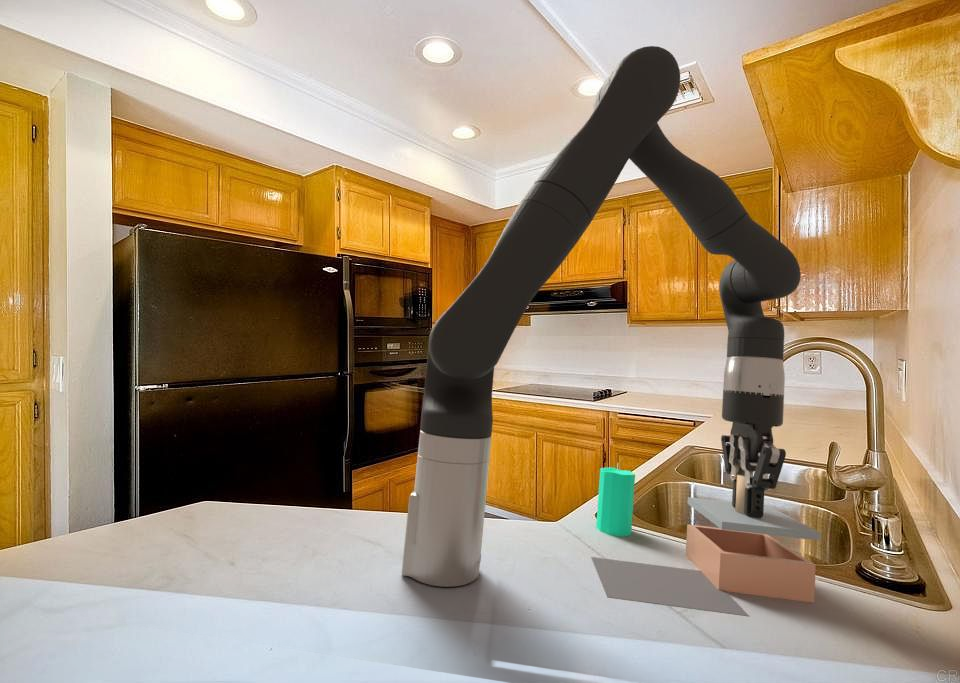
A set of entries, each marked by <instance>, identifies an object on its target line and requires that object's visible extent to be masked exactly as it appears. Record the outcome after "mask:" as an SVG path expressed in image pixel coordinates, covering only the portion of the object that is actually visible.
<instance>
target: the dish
mask: <svg viewBox="0 0 960 683" xmlns="http://www.w3.org/2000/svg"><path fill="white" fill-rule="evenodd" d="M685 540H686V542H685V556H686V557H687V559H688V560H689V561H691V562H692V564H693V565H694V566H695V567H696V568H697V570H698V571H701V572H702V573H703V574H704V575H705V576H706V577H707V578H708V579H709V580H710V581H711V582H712V584H713V585H714V586H715V587H716V588H717V589H718V590H723V591H726V592H727V593H729V592H730V593H736V594H746V595H752V596H760V597H766V598H775V599H782V600H791V601H799V602H805V603H813V604H814V603H815V592H816V571H817V570H816V568H817V567H816V566H817V565H816V564H815V563H814V562H812V561H811V560H809V559H808V558H806V557H804V556H803V555H801V554H799V553H797V552H796V551H795V550H793V549H791V548H790V547H788V546H787V545H785V544H783V543H782V542H781V541H778V540H777V539H776V538H774V537H772V535H766V534H757V533H749V532H740V531H731V530H722V529H720V528H719V527H714V526H705V525H696V524H687V525H686V539H685Z"/></svg>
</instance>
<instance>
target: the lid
mask: <svg viewBox="0 0 960 683" xmlns="http://www.w3.org/2000/svg"><path fill="white" fill-rule="evenodd" d="M745 488H747V487H746V484H745V475H737V486H736V507H735V508H734V507H733V506H732V501H728V500H727V501H726V500H717V499H709V498H698V497H691V496H687V505H688V506H689V507H691V508H693V509H694V510H695V511H696V512H698V513H699V514H700V515H702V516H704V517H705V518H706V519H707V520H709V521H710V522H711V523H713V524H714V525H715V526H717V528H720V529H722V530H731V531H740V532H749V533H757V534H766V535H769V536H777V537H786V538H793V539H802V540H812V541H819V542H820V541H821V533H822V532H820V531H818V530H817V529H814V528H813V527H810V526H808V525H806V524H805V523H803V522H801V521H799V520H797V519H796V518H794V517H791V516H789V515H787V514H786V513H783V512H781V511H779V510H778V509H776V508H774V507H772V506H771V505H765V504H764V511H763V517H762V518H756V517H749V516H747V515H746V514H745V513H744V502H745Z"/></svg>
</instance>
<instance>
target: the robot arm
mask: <svg viewBox="0 0 960 683" xmlns="http://www.w3.org/2000/svg"><path fill="white" fill-rule="evenodd" d="M680 86H681V71H680V67H679V63H678V61H677V60H676V58H675V56H674V55H673V54H672V53H671V52H670V51H669V50H667V49H666V48H663V47H661V46H656V45H649V46H643V47H640V48H637V49H635V50H633V51H631V52H630V53H628V54H627V55H626V56H625V57H623V58H622V59H621V60H620V61H619V62H618V63H617V64H616V66H615V67H614V69H613V70H612V71H611V73H610V74H609V76H608V77H607V78H606V79H605V81H603V83H602V85H601V87H600V88H599V90H598V91H597V93H596V95H595V97H594V100H593V105H592V106H593V110H592V113H591V115H590V116H589V117H588V118H587V121H585V123H584V124H583V125H582V126H581V127H580V128H579V130H578V131H577V132H576V133H575V135H573V137H572V138H570V140H569V141H568V142H567V143H566V144H565V145H564V146H563V147H562V149H561V150H560V151H559V152H558V153H557V154H556V156H555V157H553V159H552V160H551V161H550V162H549V163H548V165H547V166H546V167H545V168H544V169H543V171H542V172H541V173H540V174H539V176H538V177H537V178H536V180H535V181H534V182H533V184H532V185H531V187H530V188H529V190H528V191H527V192H526V194H525V195H524V196H523V198H522V199H521V201H520V203H519V204H518V205H517V206H516V209H515V210H514V212H512V215H511V216H510V218H509V220H508V221H507V223H506V225H505V227H504V228H503V230H502V232H501V234H500V236H499V238H498V240H497V242H496V244H495V245H494V248H493V250H492V252H491V253H490V255H489V257H488V259H487V261H486V262H485V263H484V266H483V267H481V269H480V270H479V272H478V273H477V275H476V276H475V277H474V278H473V279H472V281H471V282H470V284H468V285H467V287H466V288H465V289H464V291H463V292H462V293H460V295H459V296H458V297H457V298H456V299H455V301H454V302H453V303H452V304H450V306H449V307H448V308H447V310H445V311H444V312H443V313H442V314H441V315H440V316H439V317H438V318H437V320H435V323H434V324H433V326H432V328H431V330H430V333H429V337H428V349H427V360H426V366H425V369H426V370H425V380H424V387H423V388H424V389H423V396H422V403H421V404H422V405H421V416H420V426H419V428H420V430H419V438H418V448H417V458H416V459H417V460H416V466H415V468H416V470H415V479H414V488H413V489H414V490H413V491H412V492H411V493H410V495H409V497H408V507H407V508H408V509H407V514H406V515H407V517H406V518H407V519H406V527H405V534H404V535H405V538H404V547H403V554H402V555H403V556H402V557H403V558H402V566H401V576H405V577H410V578H411V579H414V580H415V581H418V582H420V583H422V584H426V585H429V586H435V587H446V588H449V587H459V586H464V585H467V584H470V583H472V582H474V581H475V580H476V579H478V578H479V575H480V566H481V561H482V547H483V546H482V545H483V544H482V543H483V537H484V536H483V534H484V525H485V524H484V523H485V513H486V512H485V510H486V500H487V491H488V481H489V480H488V477H489V466H490V458H491V447H492V446H491V444H492V434H493V421H494V416H493V404H492V403H493V387H494V377H495V376H494V375H495V366H496V365H497V364H498V363H499V361H500V359H501V357H502V355H503V353H504V351H505V350H506V347H507V345H508V343H509V341H510V339H511V337H512V335H513V333H514V332H515V330H516V328H517V326H518V325H519V323H520V320H521V319H522V317H523V315H524V313H525V311H526V310H527V308H528V306H529V305H530V303H531V301H533V299H534V297H535V296H536V295H537V293H538V292H539V291H540V289H541V288H542V287H543V286H544V285H545V284H546V283H547V282H548V281H549V279H550V278H551V277H552V276H553V275H554V274H555V272H556V271H557V270H558V268H559V267H560V266H561V265H562V264H563V262H564V261H565V259H566V258H567V257H568V256H569V254H570V253H571V251H572V250H573V249H574V247H575V246H576V245H577V243H578V242H579V240H581V238H582V236H583V234H584V233H585V231H586V230H587V229H588V228H589V226H590V224H591V222H592V221H593V220H594V218H595V216H596V215H597V213H598V211H599V210H600V208H601V207H602V205H603V203H604V202H605V200H606V199H607V197H608V195H609V193H610V192H611V191H612V189H613V187H614V185H615V184H616V182H617V180H618V178H619V176H620V175H621V172H622V171H623V169H624V168H625V166H626V164H627V162H628V161H629V160H630V161H631V162H632V163H633V164H634V165H635V166H636V167H637V169H638V170H640V172H641V173H642V174H644V175H645V176H646V177H647V178H648V180H650V181H651V182H652V183H653V184H654V185H655V186H656V187H657V188H658V190H660V192H661V193H662V194H663V195H664V196H665V197H666V198H667V200H668V201H669V202H670V204H671V205H672V206H673V207H674V209H675V210H676V212H677V213H678V214H679V215H680V216H681V218H682V219H683V220H684V221H685V223H686V225H687V226H688V227H689V229H690V230H691V232H692V233H693V235H694V236H695V237H696V239H697V240H698V241H699V243H700V244H701V246H702V247H703V248H704V249H705V251H706V252H707V253H709V254H711V255H718V256H720V255H721V256H727V257H730V258H732V259H733V260H732V261H731V262H729V263H728V264H727V265H726V266H725V267H724V269H723V271H722V272H721V276H720V278H719V283H718V284H719V286H718V291H719V297H720V301H721V306H722V310H723V315H724V319H725V322H726V326H727V330H728V333H727V334H728V336H727V345H726V346H727V348H726V362H725V366H724V371H723V372H724V373H723V386H722V388H723V389H722V406H721V418H722V420H724V421H726V422H730V423H732V424H731V425H732V426H731V429H730V434H729V435H726V434H725V435H721V437H720V441H721V448H722V456H723V464H724V471H725V473H726V475H730V480H731V482H732V495H731V496H732V499H731V502H732V506H733V507H734V508H735V507H736V486H737V475H745V484H746V487H747V488H745V502H744V513H745V514H746V515H747V516H749V517H756V518H762V517H763V511H764V505H765V491H768V490H769V489H770V490H775V489H776V487H777V484H778V481H779V478H780V475H781V472H782V469H783V466H784V463H785V461H786V460H785V459H786V456H787V452H786V450H785V449H784V448H778V447H776V446H775V445H774V435H773V430H772V429H773V427H777V428H778V427H781V426H782V425H783V424H784V407H785V406H784V403H785V401H784V400H785V381H786V380H785V375H786V374H785V368H784V352H785V351H784V349H785V327H784V325H783V322H782V321H780V320H779V319H776V318H773V317H768V316H765V313H764V310H763V307H762V306H763V305H762V302H767V301H772V300H778V299H783V298H785V297H788V296H790V295H791V294H793V293H794V292H795V291H796V290H797V288H798V286H799V285H800V282H801V276H802V275H801V274H802V273H801V272H802V271H801V267H800V265H799V261H798V260H797V258H796V256H795V254H794V253H793V252H792V251H791V250H790V248H788V247H787V246H786V245H785V244H784V243H782V242H781V241H780V240H779V239H778V238H777V237H775V236H774V235H773V234H772V233H770V232H769V231H768V230H767V229H766V228H764V227H763V226H761V225H760V224H759V223H757V222H756V221H755V220H753V219H752V217H751V216H750V214H749V213H748V211H747V210H746V208H745V207H744V205H743V204H742V203H741V202H742V201H740V200H739V198H738V197H737V196H736V194H735V193H734V191H733V189H731V187H730V186H729V184H727V183H726V181H725V180H723V179H722V178H721V177H720V176H719V175H717V174H716V173H715V172H714V171H712V170H711V169H709V168H707V167H706V166H704V165H702V164H700V163H699V162H697V161H695V160H694V159H691V158H690V157H689V156H687V155H685V154H684V153H683V152H681V151H680V150H679V149H678V148H676V146H675V145H674V144H672V142H670V140H669V139H668V138H667V137H666V135H665V134H664V131H663V130H662V129H661V127H660V125H659V123H658V122H659V121H660V120H661V119H662V118H663V116H665V115H666V114H667V113H668V111H669V110H670V109H671V108H672V106H673V105H674V103H675V102H676V100H677V97H678V95H679V91H680Z"/></svg>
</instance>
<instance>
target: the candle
mask: <svg viewBox="0 0 960 683" xmlns="http://www.w3.org/2000/svg"><path fill="white" fill-rule="evenodd" d="M616 466H617V468H616V467H614V466H613V467H610V466H609V467H601V468H600V471H599V483H598V497H597V512H596V522H595V523H596V525H595V528H596V529H597V530H598V531H599V532H601V533H604V534H605V535H606V534H607V535H610V536H615V537H628V536H631V535H632V529H633V527H632V526H633V512H634V499H635V497H634V496H635V486H636V483H635V482H636V481H635V480H636V474H635V473H633V472H632V471H631V470H621V469H619V462H617V465H616Z"/></svg>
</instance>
